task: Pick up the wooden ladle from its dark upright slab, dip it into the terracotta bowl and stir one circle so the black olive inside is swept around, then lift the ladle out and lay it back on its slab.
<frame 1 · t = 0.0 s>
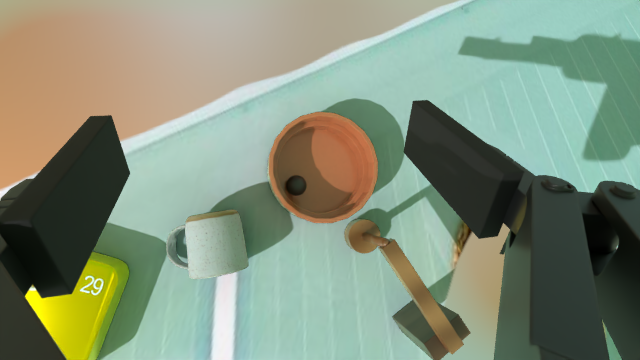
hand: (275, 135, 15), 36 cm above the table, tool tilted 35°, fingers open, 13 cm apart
dark upright slab: (411, 312, 54), on the table
ceramic mug: (210, 243, 49), on the table
bowl: (317, 170, 52), on the table
element tile: (56, 300, 45), on the table
ladle: (359, 234, 53), on the table, touching dark upright slab
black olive: (296, 185, 49), point 2 cm above the table, touching bowl
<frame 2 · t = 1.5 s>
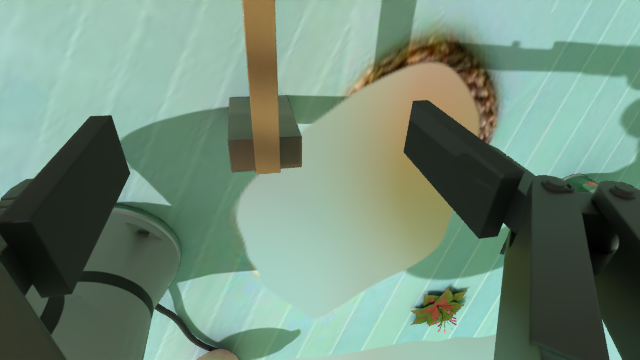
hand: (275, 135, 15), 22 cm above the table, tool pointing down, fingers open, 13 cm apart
dark upright slab: (259, 109, 37), on the table
decorative fruit: (214, 348, 58), on the table
canned tomato: (564, 193, 55), on the table
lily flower: (436, 304, 65), on the table
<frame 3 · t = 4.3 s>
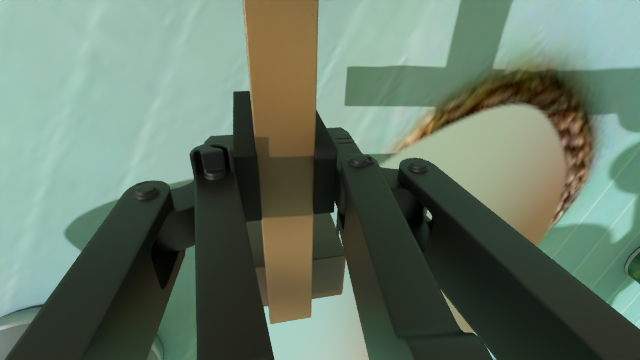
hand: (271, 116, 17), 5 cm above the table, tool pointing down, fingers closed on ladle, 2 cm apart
dark upright slab: (269, 176, 25), on the table
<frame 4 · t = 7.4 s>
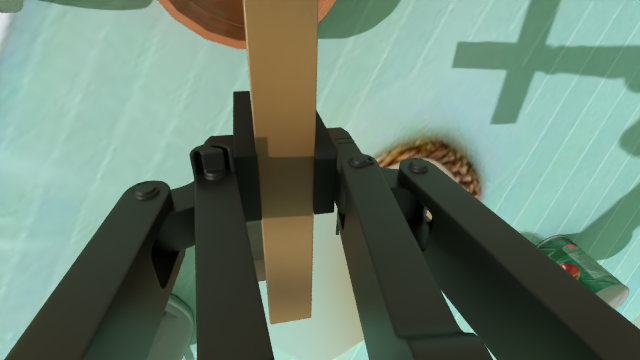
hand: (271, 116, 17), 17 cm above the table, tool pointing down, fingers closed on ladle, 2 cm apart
dark upright slab: (264, 205, 41), on the table
canned tomato: (547, 251, 60), on the table
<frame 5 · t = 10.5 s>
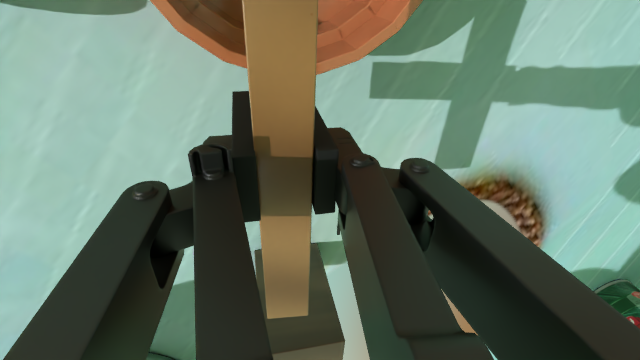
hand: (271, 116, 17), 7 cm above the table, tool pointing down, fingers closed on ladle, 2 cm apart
dark upright slab: (286, 257, 33), on the table
canned tomato: (604, 296, 52), on the table
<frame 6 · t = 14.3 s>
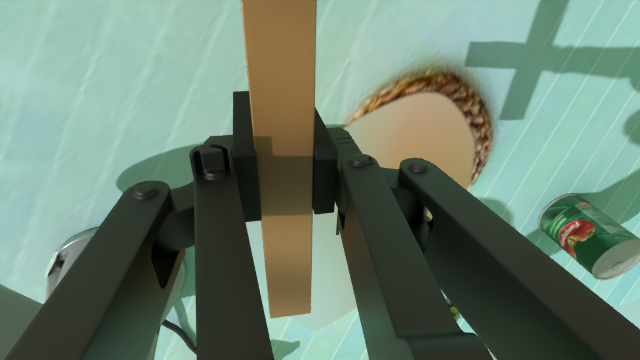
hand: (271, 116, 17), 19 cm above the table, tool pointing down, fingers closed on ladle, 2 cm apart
canned tomato: (558, 212, 57), on the table
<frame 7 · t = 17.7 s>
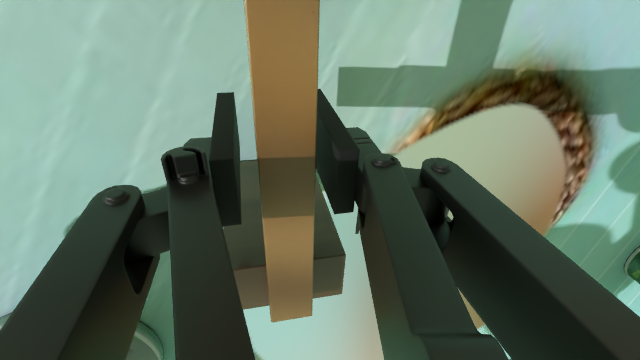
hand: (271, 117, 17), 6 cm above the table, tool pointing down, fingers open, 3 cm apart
dark upright slab: (269, 176, 25), on the table
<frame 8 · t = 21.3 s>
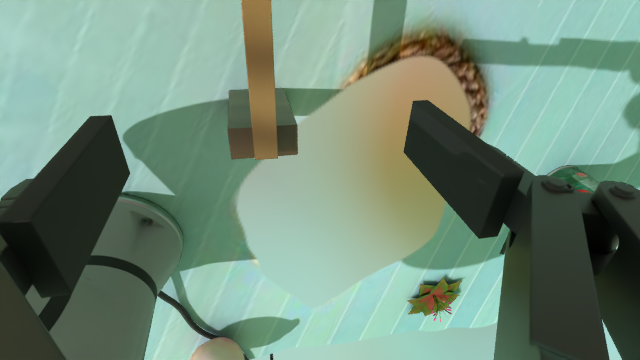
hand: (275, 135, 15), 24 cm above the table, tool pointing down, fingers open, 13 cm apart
dark upright slab: (257, 102, 39), on the table
decorative fruit: (216, 337, 60), on the table
canned tomato: (555, 185, 57), on the table
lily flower: (432, 294, 67), on the table
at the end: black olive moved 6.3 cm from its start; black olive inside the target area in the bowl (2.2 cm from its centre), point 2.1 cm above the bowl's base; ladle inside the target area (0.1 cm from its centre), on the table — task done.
